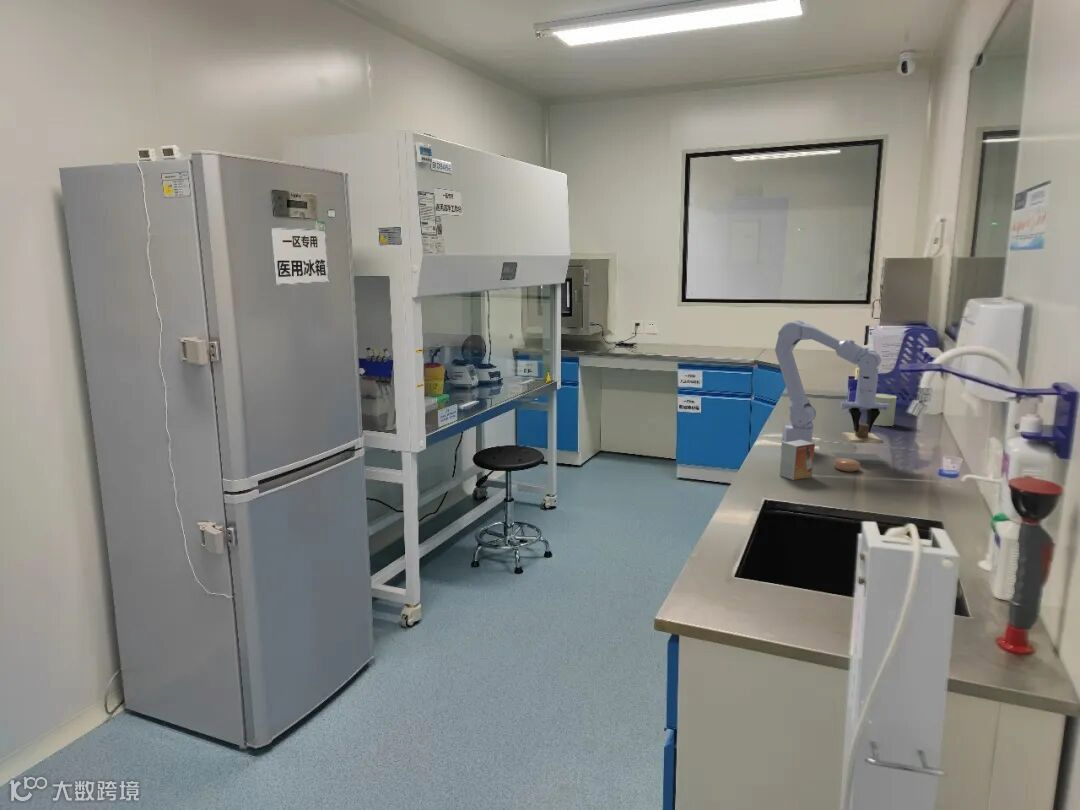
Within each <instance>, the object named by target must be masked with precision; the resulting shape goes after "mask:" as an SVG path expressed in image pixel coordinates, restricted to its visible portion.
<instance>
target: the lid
mask: <svg viewBox="0 0 1080 810" xmlns="http://www.w3.org/2000/svg"><path fill="white" fill-rule="evenodd" d="M840 436H841V437H843V438H844V439H845V440H846V441H848V442H849V443H856V444H857V443H858V444H859V443H860V444H863V443H864V444H884V440H882V439H881V438H879V437H878V436H877V435H875V434H873V433H872V432H871V433H870V432H869V425H867V424H866V423H864V422H863V423H861V422H859V430H858V432H856V431H855V432H847V431H845V432H844V431H843V432H842V431H841V432H840Z"/></svg>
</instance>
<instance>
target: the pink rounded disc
mask: <svg viewBox="0 0 1080 810" xmlns="http://www.w3.org/2000/svg"><path fill="white" fill-rule="evenodd" d="M860 465H861V463H860V462H859V461H856V460H853V459H847V458H836V459H834V468H835V469H837V470H839V471H842V472H851V473H853V472H855V471H856V472H857V471H859V470H860Z"/></svg>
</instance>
